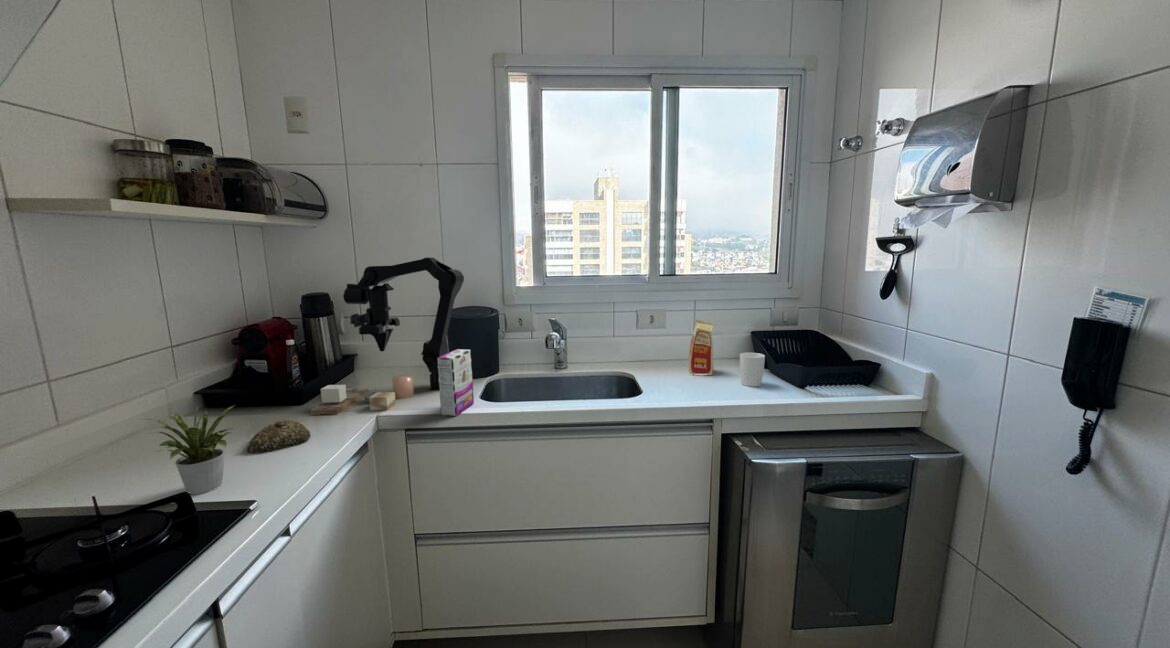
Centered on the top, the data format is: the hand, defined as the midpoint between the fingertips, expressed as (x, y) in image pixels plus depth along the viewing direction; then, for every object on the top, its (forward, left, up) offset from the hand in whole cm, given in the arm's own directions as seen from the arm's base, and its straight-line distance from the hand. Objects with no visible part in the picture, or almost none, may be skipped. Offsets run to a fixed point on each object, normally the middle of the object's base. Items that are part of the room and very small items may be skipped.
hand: (382, 351), depth 149 cm
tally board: (+6, +17, -12) cm, 22 cm away
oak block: (-8, +22, -12) cm, 26 cm away
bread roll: (+7, +44, -12) cm, 47 cm away
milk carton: (-111, -10, -12) cm, 112 cm away
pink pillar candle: (-10, +11, -12) cm, 19 cm away
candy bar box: (-30, +25, -12) cm, 41 cm away
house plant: (+9, +67, -12) cm, 69 cm away
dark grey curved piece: (-3, +16, -12) cm, 20 cm away
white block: (+6, +21, -10) cm, 24 cm away
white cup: (-123, +6, -12) cm, 124 cm away
